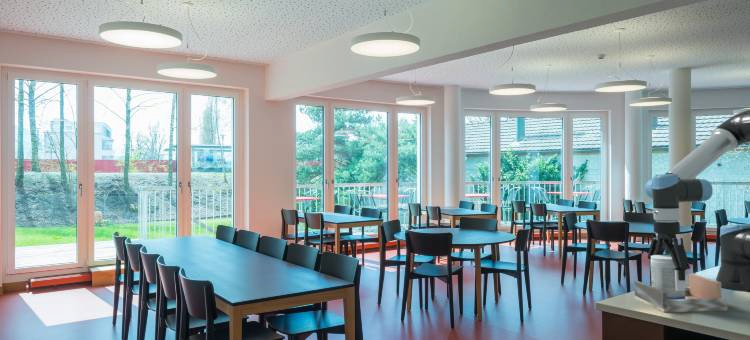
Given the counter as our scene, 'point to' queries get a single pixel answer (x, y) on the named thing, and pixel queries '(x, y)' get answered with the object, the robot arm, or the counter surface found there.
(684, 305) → the grey tray
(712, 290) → the plate
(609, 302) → the counter surface
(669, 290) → the supplement tub
